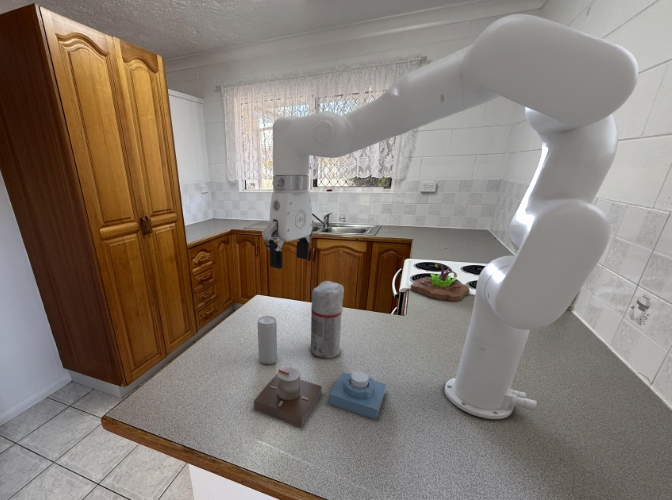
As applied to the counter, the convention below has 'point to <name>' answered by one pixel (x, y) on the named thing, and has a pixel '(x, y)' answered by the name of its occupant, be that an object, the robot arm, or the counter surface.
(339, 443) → the counter surface
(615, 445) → the counter surface
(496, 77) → the robot arm
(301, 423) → the base
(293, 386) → the lock knob
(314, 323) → the spray can
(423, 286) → the plant
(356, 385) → the white button cap
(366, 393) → the button base
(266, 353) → the beverage can
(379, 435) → the counter surface
